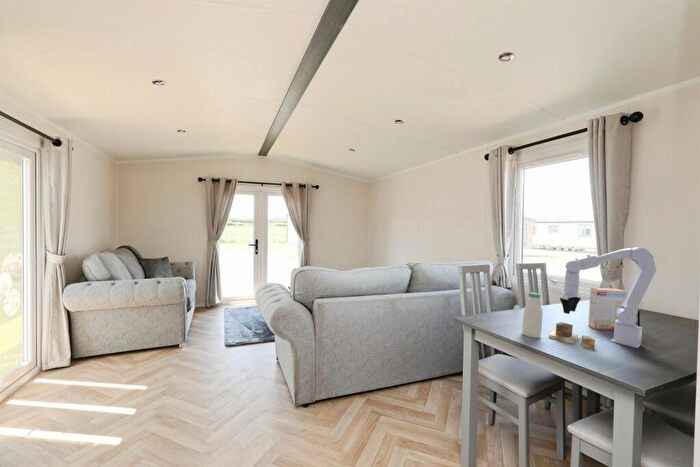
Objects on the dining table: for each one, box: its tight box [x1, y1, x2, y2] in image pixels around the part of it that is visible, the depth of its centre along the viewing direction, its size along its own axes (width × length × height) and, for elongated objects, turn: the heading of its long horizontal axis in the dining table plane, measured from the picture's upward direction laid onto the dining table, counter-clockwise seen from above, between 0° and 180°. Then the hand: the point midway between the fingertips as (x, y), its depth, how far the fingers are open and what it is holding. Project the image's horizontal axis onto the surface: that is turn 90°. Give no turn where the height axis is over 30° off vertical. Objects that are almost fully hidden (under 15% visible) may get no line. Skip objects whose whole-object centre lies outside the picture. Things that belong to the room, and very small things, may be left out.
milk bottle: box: [521, 291, 543, 339], centre depth 151 cm, size 8×8×20 cm
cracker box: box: [587, 287, 627, 332], centre depth 167 cm, size 14×6×21 cm, turn 84°
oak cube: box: [580, 334, 596, 350], centre depth 141 cm, size 4×4×4 cm
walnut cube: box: [555, 321, 574, 338], centre depth 150 cm, size 5×5×5 cm
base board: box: [548, 329, 579, 345], centre depth 150 cm, size 10×10×2 cm
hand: (569, 312), depth 159 cm, fingers open, 7 cm apart
